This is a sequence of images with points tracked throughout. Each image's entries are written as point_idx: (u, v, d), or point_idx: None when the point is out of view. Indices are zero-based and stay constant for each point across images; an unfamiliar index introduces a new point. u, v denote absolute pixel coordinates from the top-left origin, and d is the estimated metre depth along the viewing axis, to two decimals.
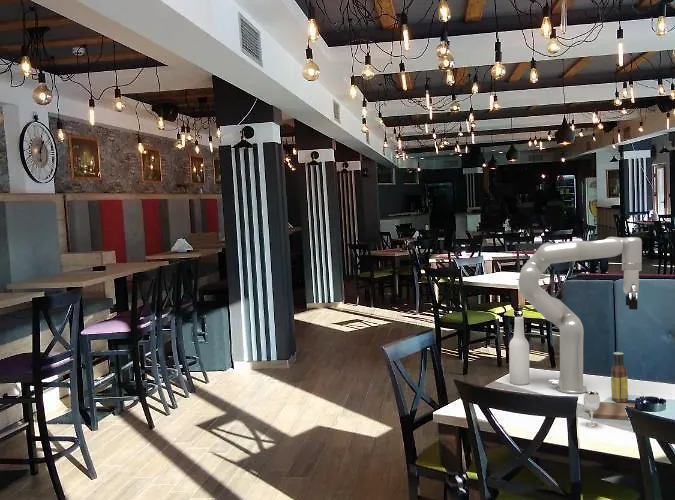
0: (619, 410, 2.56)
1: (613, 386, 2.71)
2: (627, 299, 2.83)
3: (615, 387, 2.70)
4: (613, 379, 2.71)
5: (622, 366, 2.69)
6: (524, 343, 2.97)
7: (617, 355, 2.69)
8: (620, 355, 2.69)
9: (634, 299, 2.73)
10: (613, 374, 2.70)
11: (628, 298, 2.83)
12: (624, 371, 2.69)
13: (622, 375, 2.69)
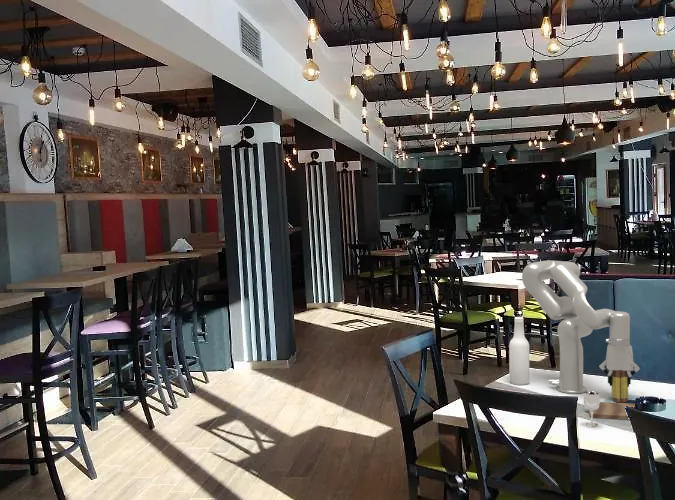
0: (619, 410, 2.56)
1: (613, 386, 2.71)
2: (611, 379, 2.72)
3: (615, 387, 2.70)
4: (613, 379, 2.71)
5: None
6: (524, 343, 2.97)
7: None
8: None
9: None
10: (614, 374, 2.70)
11: (611, 378, 2.72)
12: (625, 371, 2.69)
13: (622, 375, 2.69)
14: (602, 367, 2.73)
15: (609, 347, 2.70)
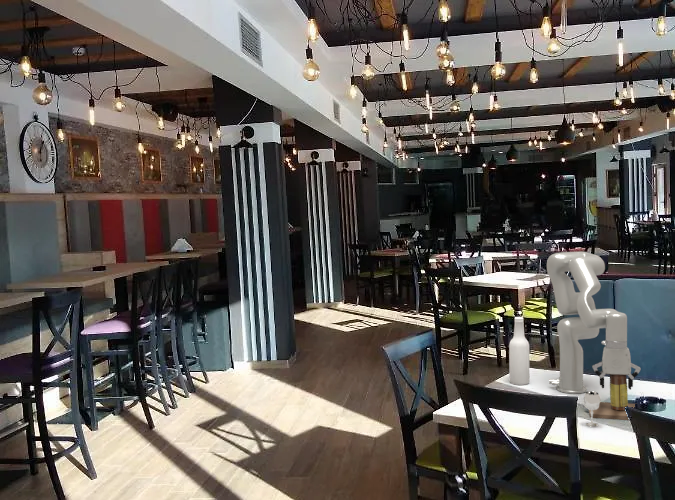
0: None
1: (612, 393, 2.56)
2: None
3: (614, 395, 2.55)
4: (612, 386, 2.56)
5: None
6: (524, 343, 2.97)
7: None
8: None
9: None
10: (612, 381, 2.56)
11: (603, 380, 2.58)
12: (624, 378, 2.54)
13: (621, 382, 2.54)
14: (595, 368, 2.58)
15: (605, 350, 2.55)
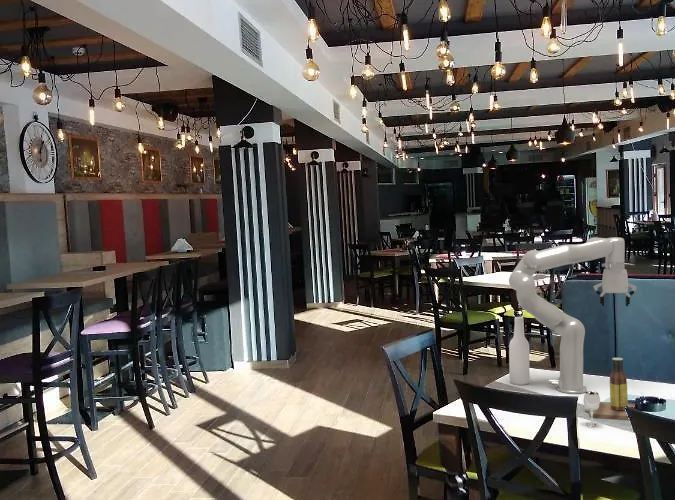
0: None
1: (612, 393, 2.56)
2: None
3: (614, 395, 2.55)
4: (612, 386, 2.56)
5: (621, 372, 2.55)
6: (524, 343, 2.97)
7: (617, 361, 2.55)
8: (619, 361, 2.54)
9: None
10: (612, 381, 2.56)
11: (603, 298, 2.87)
12: (624, 378, 2.54)
13: (621, 382, 2.54)
14: (596, 288, 2.88)
15: (605, 271, 2.85)
